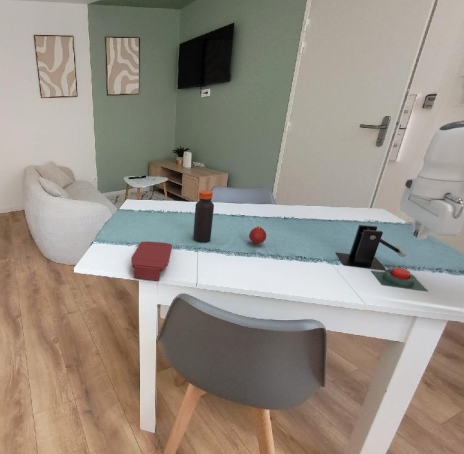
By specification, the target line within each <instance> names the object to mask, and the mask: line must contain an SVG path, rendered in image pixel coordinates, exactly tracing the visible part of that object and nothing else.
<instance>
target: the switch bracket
mask: <svg viewBox="0 0 464 454" xmlns="http://www.w3.org/2000/svg"><path fill="white" fill-rule="evenodd" d="M367 227H368V228H369V229H371V230H364V229H365V228H367ZM363 230H364V231H363ZM362 231H363V234H361V233H360V232H362ZM383 233H384V232H383V231H382V230H378V226H377V225H365V224H359V225H358V227H357V230H356V233H355V237H354V240H353V242H352V245H351V249H350V251H349V253H344V252H335V255H336V257H337V258H338V260H339V261H340V263H341V264H342V266H344V267H351V268H361V269H368V270H369V269H370V270H374V271H382V272H385V270H387V268H386V267H385V266H384V265H383V264H382V263H381V262H380V260H379V259H378V258H377V257H376V253H377V251H378V248H379V245H380V240H381V239H382V236H383Z"/></svg>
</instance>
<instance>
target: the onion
mask: <svg viewBox="0 0 464 454" xmlns="http://www.w3.org/2000/svg"><path fill="white" fill-rule="evenodd" d="M248 239H249V241H250V242H251V243H253V245H255V246H258V245H260V244H261V245H262V244H263V243H264V242H265V241H266V240H267V232H266V231H265V230H264V228H262V227H261V225H257V226H256V227H254V228H252V229H251V230H250V232H249V235H248Z"/></svg>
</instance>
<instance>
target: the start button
mask: <svg viewBox="0 0 464 454" xmlns="http://www.w3.org/2000/svg"><path fill="white" fill-rule="evenodd" d="M392 269H393V271H392V273H391V274H392V275H393V276H395V277H398V278H402V279H408V278H409V276H410V274H411V271H409V270H407V269H406V268H401V267H393V268H392Z"/></svg>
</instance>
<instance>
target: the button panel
mask: <svg viewBox="0 0 464 454" xmlns="http://www.w3.org/2000/svg"><path fill="white" fill-rule="evenodd" d="M392 271H393V268H388V269H387V268H386V270H385V271H379V270H370V272H371V273H372V275H373V277H375V279H376V280H377V281H378V282H379V284H380V285H381V286H385V287H392V288H398V289H405V290H413V291H421V292H427V293H428V292H429V290H428V289H427V288H426V287H425V286H424V285H423V284H422V283H421V282H420V281H419V280H418V279H417V277H416V276H415V275H413V274H412V273H410V276H409V278H408V279H402V278H398V277H395V276H393V275H392V274H391V273H392Z"/></svg>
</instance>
